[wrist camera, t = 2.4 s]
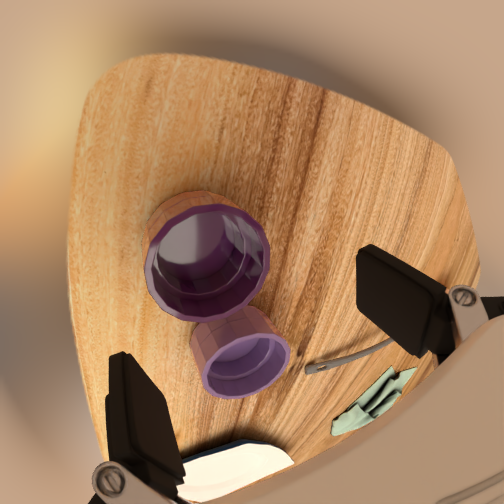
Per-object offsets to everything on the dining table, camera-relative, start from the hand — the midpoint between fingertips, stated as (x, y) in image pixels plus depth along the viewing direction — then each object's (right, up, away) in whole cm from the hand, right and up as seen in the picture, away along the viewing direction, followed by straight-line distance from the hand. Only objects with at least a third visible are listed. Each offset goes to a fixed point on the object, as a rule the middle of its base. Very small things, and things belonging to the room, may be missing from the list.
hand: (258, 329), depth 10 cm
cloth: (+24, -26, +34) cm, 48 cm away
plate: (-6, -29, +22) cm, 37 cm away
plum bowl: (-4, +3, +7) cm, 9 cm away
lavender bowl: (-2, -4, +11) cm, 12 cm away
